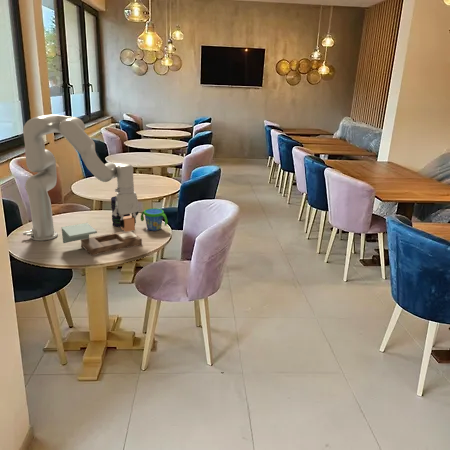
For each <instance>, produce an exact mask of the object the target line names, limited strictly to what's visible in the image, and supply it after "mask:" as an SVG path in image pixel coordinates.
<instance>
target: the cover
mask: <svg viewBox="0 0 450 450" xmlns="http://www.w3.org/2000/svg"><path fill="white" fill-rule="evenodd" d="M97 231H98V230H97V229H95V228H94V227H93V226H91V224H90V223H88V222H85V223H79V224H78V223H77V224H73V225H72V224H71V225H65V226H61V235H62V236H61V237H62V243H63V244H66V243H71V242H77V241H81V240H83V239H88V238H90V235H95V234H98V232H97Z"/></svg>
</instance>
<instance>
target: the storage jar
mask: <svg viewBox="0 0 450 450" xmlns="http://www.w3.org/2000/svg"><path fill="white" fill-rule="evenodd" d="M110 205H111V207H110V208H111V211H112V212H111V214H112V213H113V211H114V210H115V208H116V195H115V196H112V197H110ZM116 214H118V215H119V213H116ZM125 216H131V214H125V215H124V216H123V217H125ZM111 222H112V226H113V227H116V228H121V226H120V221H119V218H117V217H116V216H114V215H113V214H112V215H111Z"/></svg>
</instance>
